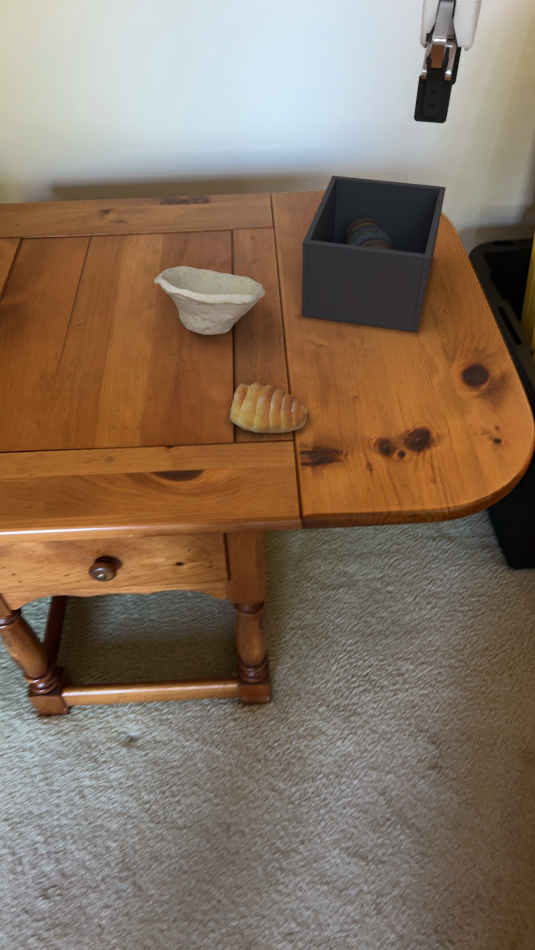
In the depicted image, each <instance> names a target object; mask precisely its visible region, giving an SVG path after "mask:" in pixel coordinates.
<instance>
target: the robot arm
mask: <svg viewBox="0 0 535 950" xmlns="http://www.w3.org/2000/svg"><path fill="white" fill-rule="evenodd" d="M422 1H423V2H422V9H421V10H422V12H421V22H420V23H421V25H420V36H419V38H420V39H419V42H420V43H419V44H420V45H421V46H422V48H424V50H425V51H424V57H423V62H422V67H421V72H420V73H421V74H419V76H418V81H417V89H416V97H415V105H414V112H413V120H414V121H415V122H421V123H434V124H444V123H446V122H447V119H448V113H449V107H450V101H451V95H452V89H453V86H454V85H455V84H456V82H457V78H458V72H459V67H460V61H461V60H460V59H461V54H462V49H463V48H464V52H468V51H469V50H471V48H472V47H473V46H474V42H475V37H476V34H477V28H478V23H479V18H480V13H481V9H482V8H481V7H482V2H483V0H422Z"/></svg>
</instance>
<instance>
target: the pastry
mask: <svg viewBox="0 0 535 950" xmlns="http://www.w3.org/2000/svg"><path fill="white" fill-rule="evenodd" d="M308 413H309V408H308V406H307V405H306V404H305V402H304V401H302V400H300V399H299V398H297V396H296V395H295V394H290V393H288V392H287V391H286V390H285V389H282V388H281V389H279V388H277V387H276V386H273V385H272V384H266V385H264V384H263V383H261V382H259V381H256V382H253V383H252V384H251V385H249V384H245V383H240V384H239V385H238V386H237V388H236V390H235V391H234V394H233V400H232V403H231V407H230V413H229V420H230V422H231V423H233V424H234V425H236V426H238V427H239V428H240V429H242V430H244V431H250V432H253V433H261V434H263V433H266V434H267V433H268V434H273V433H277V434H278V433H283V434H284V433H289V432H290V433H291V432H293V431H296V430H300V429H302V428H303V427H304V426H305V424H306V422H307V418H308Z"/></svg>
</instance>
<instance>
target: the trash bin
mask: <svg viewBox="0 0 535 950" xmlns="http://www.w3.org/2000/svg"><path fill="white" fill-rule="evenodd" d="M446 189H447V188H446V186H439V185H431V184H422V183H421V184H420V183H412V182H411V183H410V182H400V181H392V180H389V181H388V180H382V179H381V180H380V179H372V178H371V179H370V178H360V177H352V176H351V177H350V176H340V175H331V178H330V180H329V182H328V185H327V187H326V189H325V191H324V193H323V195H322V198H321V200H320V203H319V205H318V207H317V210H316V211H315V214H314V216H313V218H312V220H311V223H310V225H309V226H308V227H309V228H308V230H307V232H306V233H305V235H304V239H303V241H302V264H301V265H302V267H301V269H302V271H301V275H302V276H301V278H302V279H301V280H302V281H301V285H302V286H301V316H302V317H306V318H313V319H319V320H326V321H333V322H341V323H346V324H347V323H348V324H354V325H361V326H368V327H373V328H381V329H388V330H395V331H403V332H409V333H418V331H419V326H420V321H421V318H422V312H423V307H424V303H425V299H426V293H427V288H428V285H429V279H430V275H431V271H432V265H433V261H434V255H435V249H436V244H437V240H438V233H439V229H440V228H439V227H440V221H441V217H442V216H441V215H442V211H443V206H444V200H445V194H446ZM364 217H368V218H372V219H374V220H375V221H376V222H377V223H378V224H379V227H380V229H382V230H383V231H385V232H386V233H387V234H388V236H389V237H390V239H391V241H392V242H393V244H394V250H388V249H380V248H372V247H363V246H355V245H347V244H346V243H345V238H344V237H345V235H344V234H345V232H346V231H347V230H346V229H347V228H348V226H349V225H350V224H351V223H352V222H354V221H355V220H357V219H359V218H364Z"/></svg>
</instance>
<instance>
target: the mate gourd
mask: <svg viewBox="0 0 535 950" xmlns="http://www.w3.org/2000/svg"><path fill="white" fill-rule="evenodd" d="M346 230H347V231H346V232H345V234H344V235H345V237H344V238H345V243H346V244H347V245H355V246H363V247H372V248H380V249H388V250H394V244H393V242H392V241H391V239H390V237H389V236H388V234H387V233H386V232H385V231H383V230H382V229H380V227H379V224H378V223H377V222H376V221H375V220H374V219H372V218H368V217H364V218H359V219H357V220H355V221H354V222H352V223H351V224H350V225H349V226H348V228H347V229H346Z"/></svg>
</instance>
